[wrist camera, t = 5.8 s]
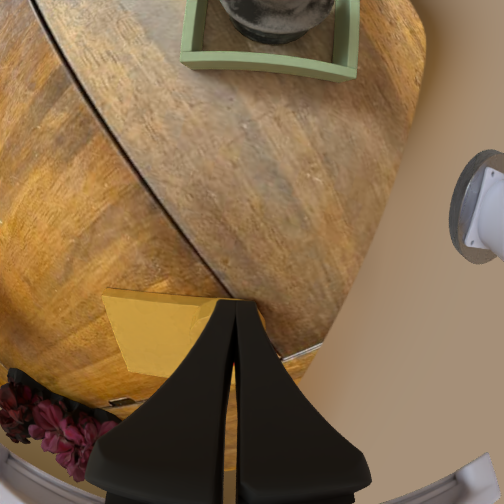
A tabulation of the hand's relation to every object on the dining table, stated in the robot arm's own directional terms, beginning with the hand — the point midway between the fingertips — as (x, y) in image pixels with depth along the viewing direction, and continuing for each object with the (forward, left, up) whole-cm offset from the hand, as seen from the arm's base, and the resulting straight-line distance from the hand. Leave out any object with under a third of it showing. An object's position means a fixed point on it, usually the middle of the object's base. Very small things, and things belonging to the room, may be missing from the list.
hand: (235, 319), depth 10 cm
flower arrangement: (+33, +39, -10) cm, 52 cm away
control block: (+5, +13, -10) cm, 17 cm away
